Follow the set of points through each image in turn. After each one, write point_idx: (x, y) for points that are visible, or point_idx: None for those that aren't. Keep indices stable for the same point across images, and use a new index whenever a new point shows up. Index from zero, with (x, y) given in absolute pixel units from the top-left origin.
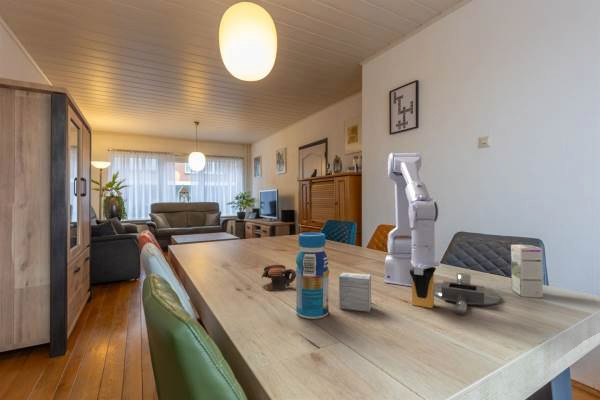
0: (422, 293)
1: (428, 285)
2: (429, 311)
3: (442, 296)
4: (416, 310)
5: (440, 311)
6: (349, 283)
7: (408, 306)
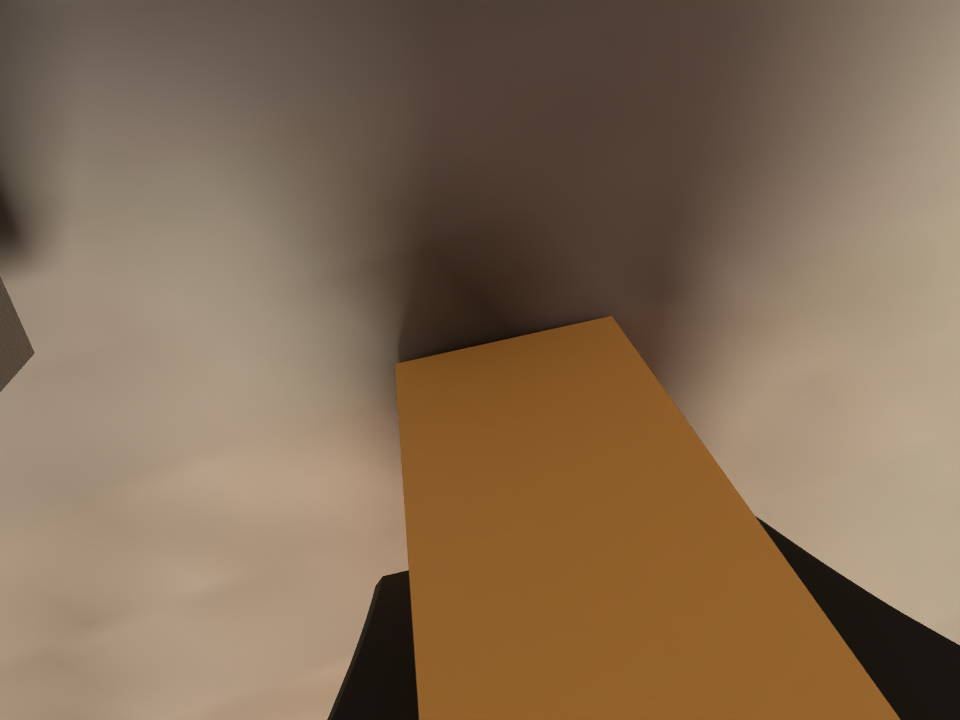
0: None
1: (928, 671)
2: (766, 304)
3: (14, 350)
4: (838, 465)
5: (650, 156)
6: None
7: None
